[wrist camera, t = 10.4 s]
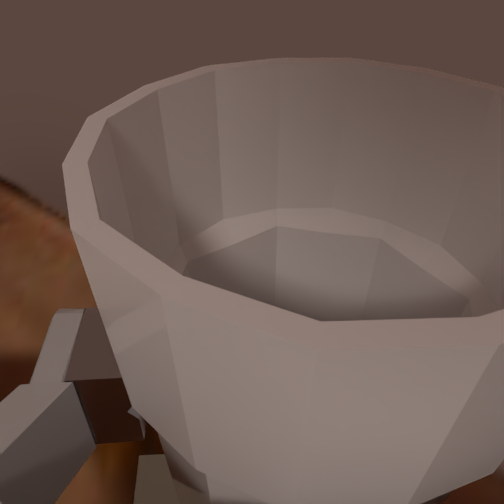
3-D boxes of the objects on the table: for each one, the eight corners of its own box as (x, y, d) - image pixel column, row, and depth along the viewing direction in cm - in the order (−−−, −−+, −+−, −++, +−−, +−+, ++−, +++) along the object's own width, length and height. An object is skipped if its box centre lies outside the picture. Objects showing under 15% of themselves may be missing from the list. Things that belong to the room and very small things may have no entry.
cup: (254, 379, 16) (261, 36, 10) (450, 488, 14) (662, 113, 7) (109, 561, 12) (-71, 175, 5) (353, 776, 9) (661, 554, 2)
